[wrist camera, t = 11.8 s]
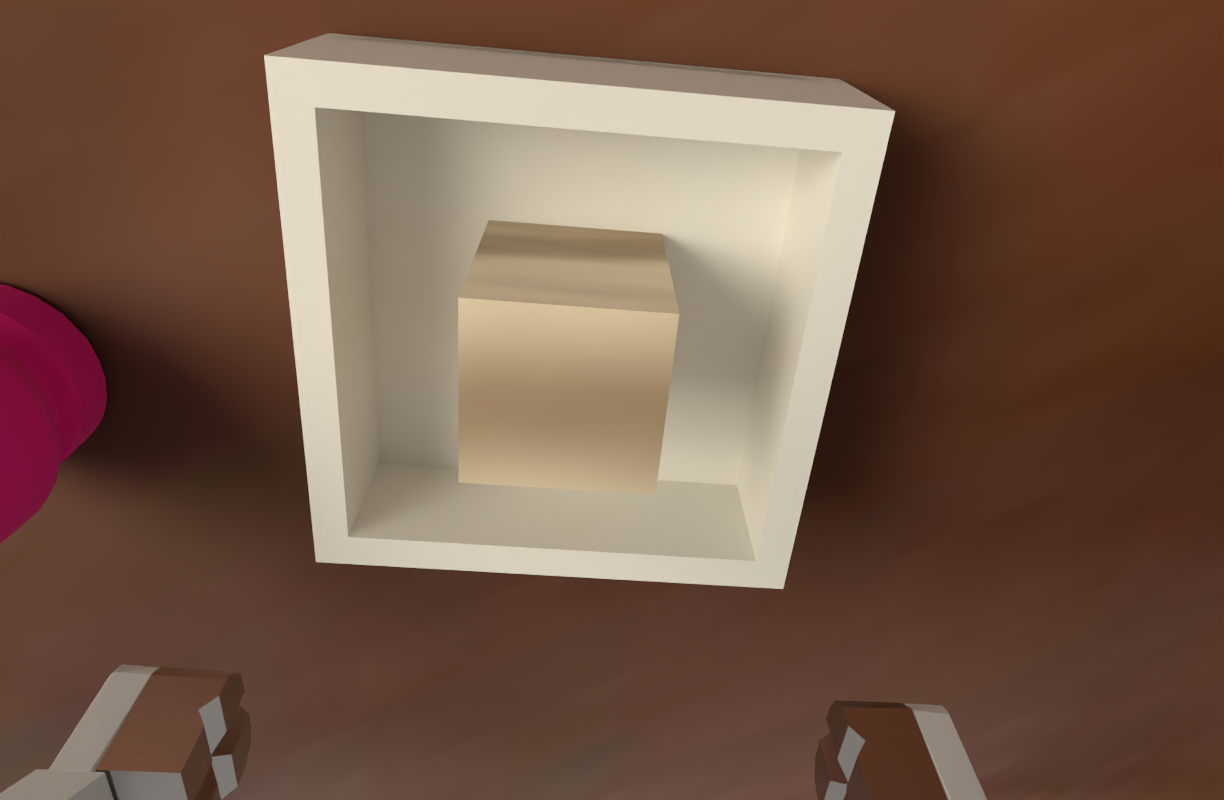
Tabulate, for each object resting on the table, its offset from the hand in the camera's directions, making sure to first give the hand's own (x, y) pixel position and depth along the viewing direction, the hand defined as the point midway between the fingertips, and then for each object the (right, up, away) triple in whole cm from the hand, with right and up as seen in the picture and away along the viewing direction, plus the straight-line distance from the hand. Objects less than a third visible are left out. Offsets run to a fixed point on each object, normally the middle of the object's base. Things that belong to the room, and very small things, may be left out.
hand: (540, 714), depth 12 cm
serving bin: (0, +8, +15) cm, 17 cm away
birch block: (0, +7, +14) cm, 16 cm away
